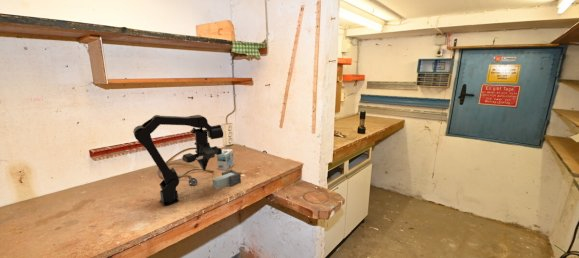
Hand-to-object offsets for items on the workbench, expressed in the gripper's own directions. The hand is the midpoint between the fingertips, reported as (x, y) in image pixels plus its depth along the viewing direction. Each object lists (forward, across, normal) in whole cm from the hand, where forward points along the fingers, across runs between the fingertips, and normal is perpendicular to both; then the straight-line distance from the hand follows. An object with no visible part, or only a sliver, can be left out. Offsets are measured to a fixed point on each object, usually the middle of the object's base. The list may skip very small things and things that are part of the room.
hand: (204, 170), depth 130 cm
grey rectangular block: (+12, +11, 0) cm, 17 cm away
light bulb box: (+12, +27, +22) cm, 37 cm away
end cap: (+12, +15, 0) cm, 19 cm away
